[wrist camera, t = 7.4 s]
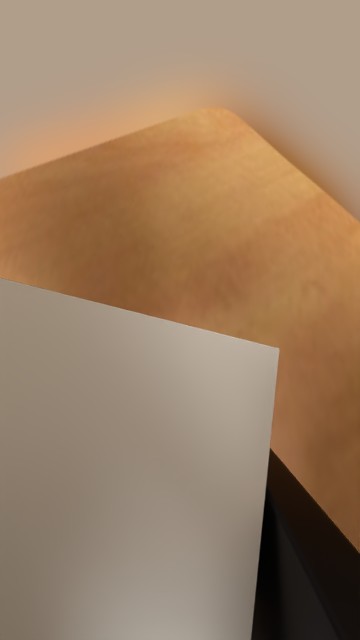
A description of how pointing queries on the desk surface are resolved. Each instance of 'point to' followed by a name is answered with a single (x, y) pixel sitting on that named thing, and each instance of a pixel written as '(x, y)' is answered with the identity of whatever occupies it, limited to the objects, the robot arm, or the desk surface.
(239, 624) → the white lidded box
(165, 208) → the desk surface
